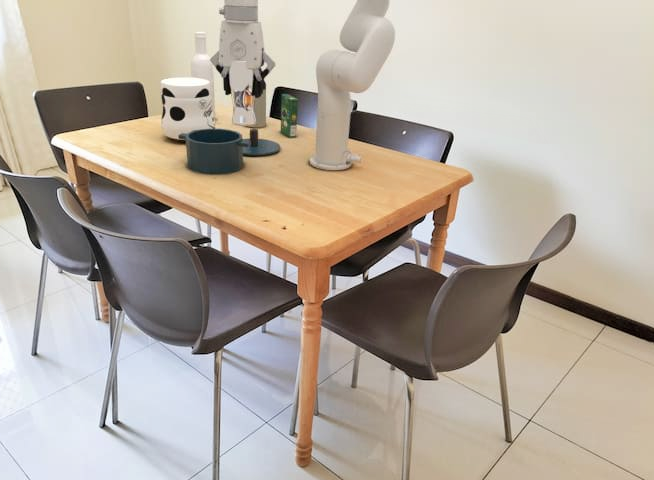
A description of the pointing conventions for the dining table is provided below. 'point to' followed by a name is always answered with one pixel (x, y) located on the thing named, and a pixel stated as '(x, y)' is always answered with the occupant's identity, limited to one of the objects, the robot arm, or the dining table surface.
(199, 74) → the bottle
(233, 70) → the beer glass
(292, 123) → the coffee box
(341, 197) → the dining table surface
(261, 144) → the lid
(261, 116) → the travel mug
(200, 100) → the milk container
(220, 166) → the pot
